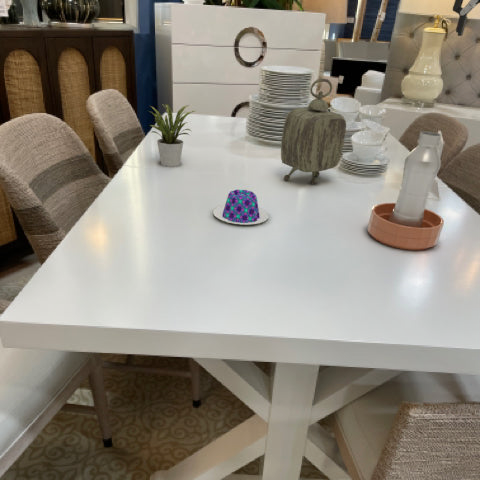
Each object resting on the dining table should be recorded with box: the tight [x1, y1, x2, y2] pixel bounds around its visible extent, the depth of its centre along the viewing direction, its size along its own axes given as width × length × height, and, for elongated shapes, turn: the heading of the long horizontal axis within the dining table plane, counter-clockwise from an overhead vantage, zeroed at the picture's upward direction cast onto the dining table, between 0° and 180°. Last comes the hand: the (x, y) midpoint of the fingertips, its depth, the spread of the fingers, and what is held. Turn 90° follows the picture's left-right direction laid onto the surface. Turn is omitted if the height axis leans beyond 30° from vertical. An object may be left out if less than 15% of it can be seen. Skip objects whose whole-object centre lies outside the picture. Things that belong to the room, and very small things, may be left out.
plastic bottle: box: [389, 131, 442, 228], centre depth 93 cm, size 6×7×20 cm
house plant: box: [148, 102, 195, 168], centre depth 128 cm, size 14×14×16 cm
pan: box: [367, 202, 445, 251], centre depth 98 cm, size 14×14×5 cm
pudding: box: [212, 189, 269, 226], centre depth 101 cm, size 12×12×5 cm
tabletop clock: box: [280, 78, 347, 185], centre depth 120 cm, size 14×9×25 cm, turn 124°
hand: (479, 37), depth 106 cm, fingers open, 8 cm apart
